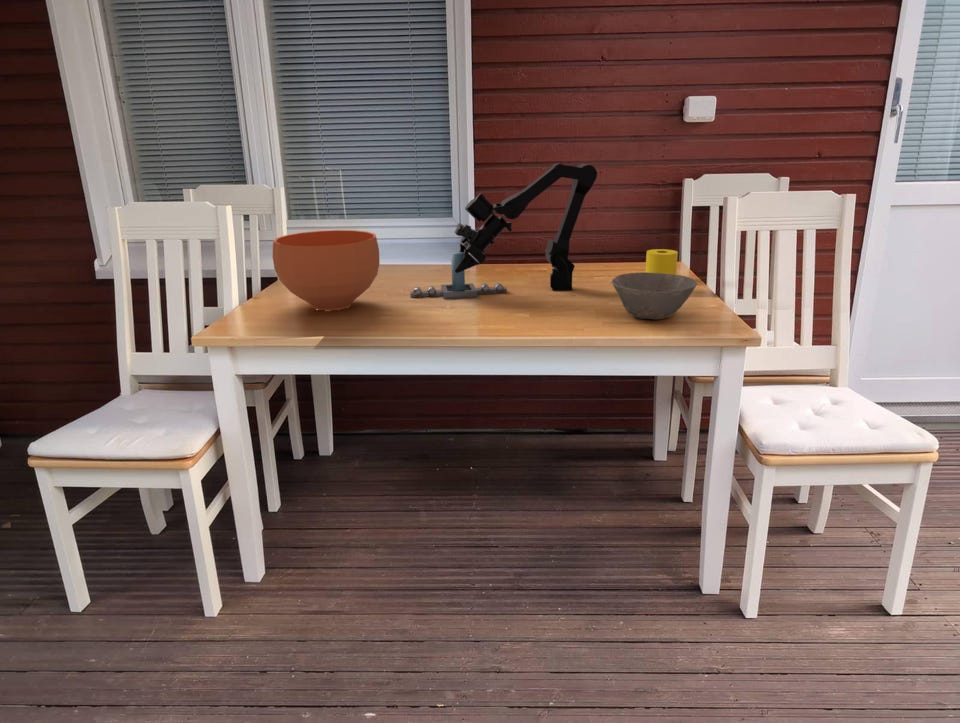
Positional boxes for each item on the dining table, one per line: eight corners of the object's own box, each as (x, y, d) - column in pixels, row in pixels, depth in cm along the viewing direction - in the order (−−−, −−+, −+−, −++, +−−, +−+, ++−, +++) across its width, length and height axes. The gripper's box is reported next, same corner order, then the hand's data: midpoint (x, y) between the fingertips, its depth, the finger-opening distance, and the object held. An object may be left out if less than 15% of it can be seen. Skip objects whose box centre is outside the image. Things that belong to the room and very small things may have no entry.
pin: (467, 293, 208) (466, 252, 204) (461, 296, 205) (459, 254, 200) (456, 292, 210) (455, 251, 205) (450, 294, 206) (448, 253, 202)
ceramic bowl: (690, 307, 187) (693, 272, 184) (696, 330, 166) (700, 292, 163) (611, 304, 192) (613, 270, 189) (608, 326, 171) (610, 289, 168)
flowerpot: (384, 316, 184) (378, 243, 177) (274, 323, 180) (264, 248, 173) (381, 291, 212) (376, 227, 205) (286, 297, 208) (278, 232, 201)
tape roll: (668, 284, 214) (670, 255, 211) (640, 280, 220) (641, 252, 217) (680, 278, 222) (682, 250, 219) (652, 275, 228) (654, 248, 224)
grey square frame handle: (503, 287, 214) (503, 280, 213) (509, 295, 204) (508, 287, 203) (410, 292, 210) (409, 284, 209) (411, 300, 201) (410, 292, 200)
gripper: (466, 210, 208) (433, 246, 210) (473, 218, 191) (437, 257, 193) (491, 234, 212) (458, 269, 214) (500, 243, 194) (464, 282, 197)
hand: (454, 269), depth 204 cm, fingers open, 9 cm apart
